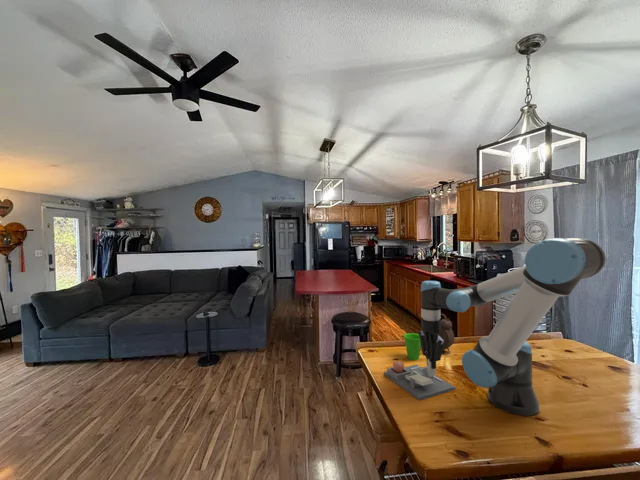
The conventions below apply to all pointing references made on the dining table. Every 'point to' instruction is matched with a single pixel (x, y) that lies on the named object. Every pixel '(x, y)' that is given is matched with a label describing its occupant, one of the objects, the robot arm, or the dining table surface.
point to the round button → (398, 367)
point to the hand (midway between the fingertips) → (431, 375)
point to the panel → (417, 389)
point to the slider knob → (426, 372)
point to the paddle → (419, 379)
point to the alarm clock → (446, 333)
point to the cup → (412, 345)
